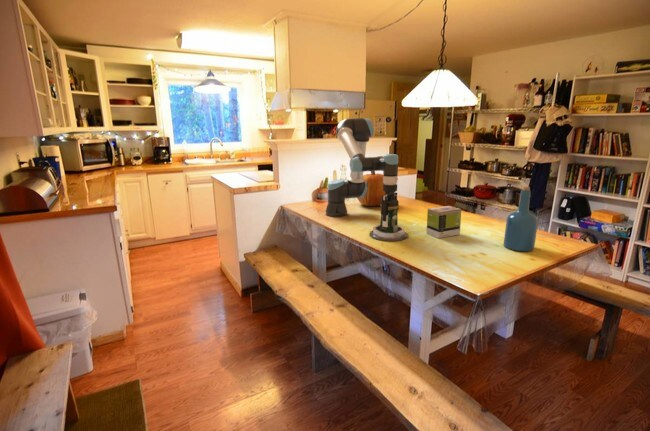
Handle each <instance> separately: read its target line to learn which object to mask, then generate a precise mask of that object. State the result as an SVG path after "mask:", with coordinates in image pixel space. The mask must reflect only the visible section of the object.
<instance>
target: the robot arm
mask: <svg viewBox="0 0 650 431" xmlns="http://www.w3.org/2000/svg"><path fill="white" fill-rule="evenodd" d="M374 129H375V128H374V124H373V122H372V120H371V119H370V118H368V117H367V118H365V117H359V118H358V117H357V118H356V117H355V118H349V117H348V118H345V119H342V120H341V121H339V123H338V124H337V127H336V129H335V134H336V137H337V139H338V140H339V142H341V144H342V145H343V147H344V149H345V152H346V153H347V155H348V157H349V159H350V160H349V168H350V175H349V176H347V181H345V179H334V180H330V181H328V184H327V205H326V207H325V208H326V209H325V215H326V216H327V217H328V216H329V217H335V218H336V217H345V216H347V215H348V208H347V205H346V200H347V199H357V198H360V197H364V196H365V194H366V192H367V183H366V181H365V179H364V178H363V175H364V173H365V172H371V171H375V172H379V171H382V172H383V173H382V174H383V183H384V184H383V191H385V196H382V206H381V205H380V216H381V215H383V227H388V215H387V213H388V206H387V201H391V199H395V200H398V192H397V191H398V180H399V178H398V175H399V174H398V173H399V155H398V154H394V153H387V154H386V153H385V154H384V155H383V156H382V155H380V156H372V157H371V156H369V157H366V151H367V143H368V142H370V138H372V137H373V135H374V131H375V130H374Z"/></svg>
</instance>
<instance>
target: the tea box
mask: <svg viewBox="0 0 650 431" xmlns="http://www.w3.org/2000/svg"><path fill="white" fill-rule="evenodd" d="M426 216H427V217H426V218H427V220H426V234H427V235H429V236H432V237H434V238H437V239H441V238H446V237H452V236H459V235H460V234H461V225H462V224H461V222H462V209H461V208H459V207H455V206H451V205H446V206H445V205H444V206H439V207H438V206H437V207H436V206H435V207H431V208H427V215H426Z"/></svg>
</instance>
